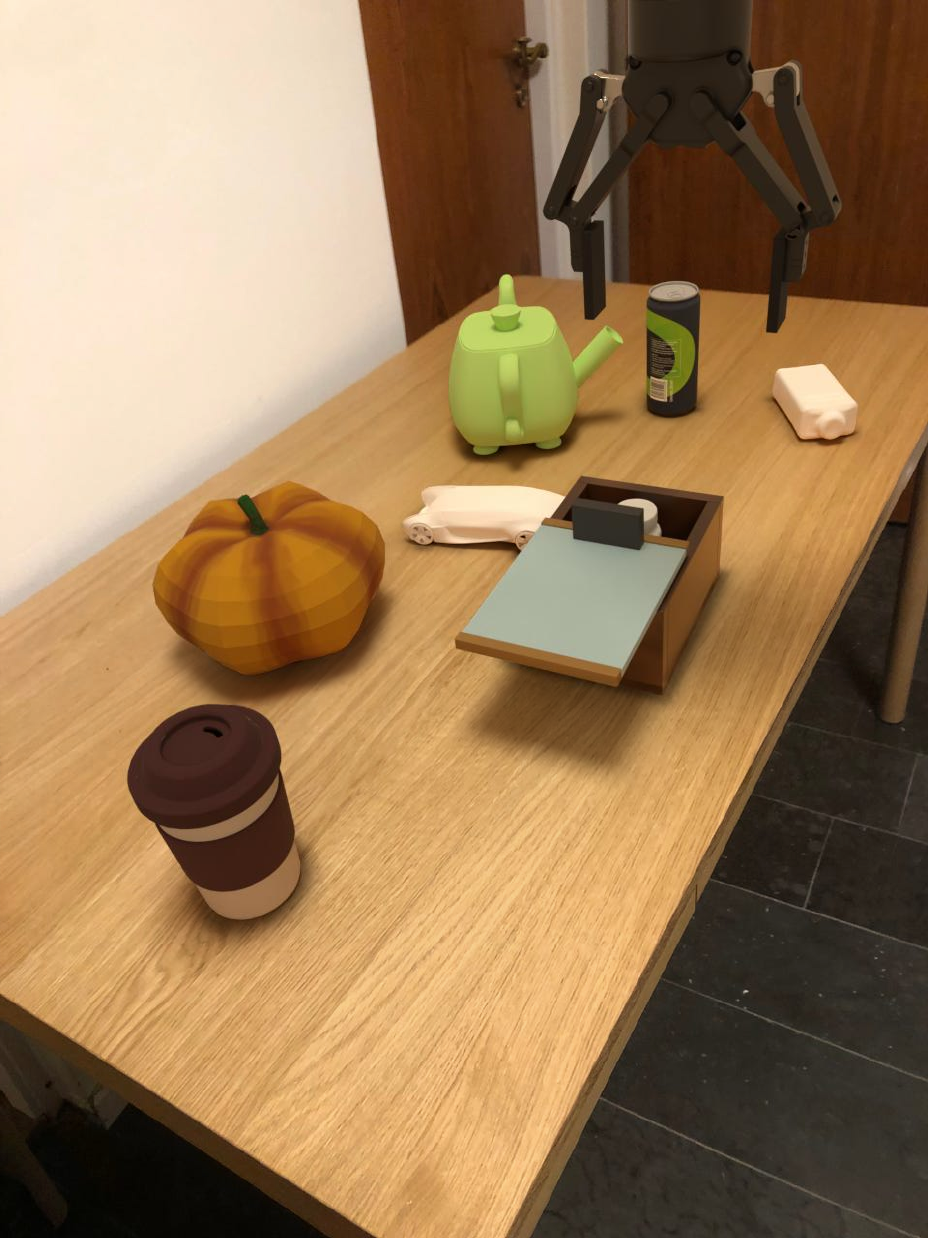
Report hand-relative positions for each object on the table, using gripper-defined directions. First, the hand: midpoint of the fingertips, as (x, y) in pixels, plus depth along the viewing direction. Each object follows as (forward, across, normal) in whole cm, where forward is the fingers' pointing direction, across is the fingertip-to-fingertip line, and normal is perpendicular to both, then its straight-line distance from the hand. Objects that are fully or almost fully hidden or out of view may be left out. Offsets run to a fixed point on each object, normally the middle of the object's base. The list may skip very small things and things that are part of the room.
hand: (682, 319), depth 71 cm
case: (+29, +5, +1) cm, 29 cm away
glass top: (+19, +5, +11) cm, 23 cm away
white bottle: (+29, -4, -42) cm, 51 cm away
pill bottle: (+28, +5, -3) cm, 28 cm away
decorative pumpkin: (+29, +35, +13) cm, 47 cm away
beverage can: (+29, +13, -41) cm, 52 cm away
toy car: (+29, +23, -9) cm, 38 cm away
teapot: (+29, +28, -33) cm, 52 cm away
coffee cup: (+29, +20, +39) cm, 52 cm away
